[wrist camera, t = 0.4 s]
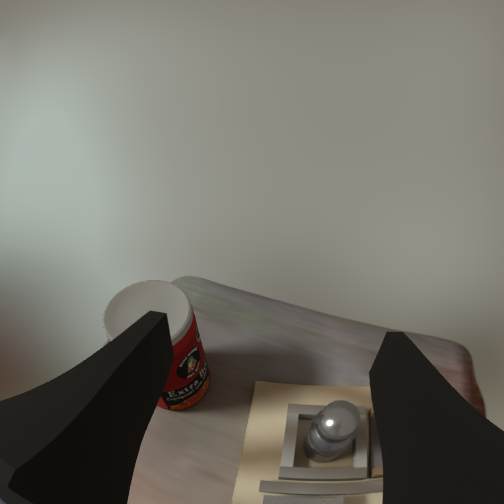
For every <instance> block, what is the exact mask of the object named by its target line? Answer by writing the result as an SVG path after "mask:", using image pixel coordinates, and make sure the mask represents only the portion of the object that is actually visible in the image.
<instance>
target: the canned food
mask: <svg viewBox="0 0 504 504" xmlns="http://www.w3.org/2000/svg"><path fill="white" fill-rule="evenodd" d="M150 310H151V311H157V312H163V313H167V317H168V323H169V329H170V335H171V341H172V346H173V351H174V359H173V363H172V366H171V370H170V373H169V377H168V380H167V383H166V385H165V387H164V390H163V392H162V394H161V397H160V399H159V401H158V403H157V406H159V407H161V408H164V409H168V410H182V409H186V408H189V407H191V406H193V405H195V404H196V403H197V402H199V401H200V400H201V399H202V397H203V396H204V395H205V393H206V391H207V388H208V385H209V381H210V374H209V369H208V365H207V362H206V358H205V354H204V350H203V347H202V343H201V339H200V335H199V331H198V327H197V323H196V319H195V315H194V312H193V308H192V305H191V302H190V300H189V298H188V295H187V294H186V293H185V292H184V290H182V289H181V288H180V287H178V286H177V285H175V284H173V283H170V282H166V281H160V280H149V281H142V282H138V283H135V284H132V285H130V286H128V287H126V288H124V289H123V290H121V291H120V292H118V293H117V294H116V295H115V296H114V297H113V298H112V299H111V300H110V302H109V303H108V305H107V306H106V308H105V311H104V314H103V327H104V330H105V333H106V335H107V338H108V340H109V341H112V340H113V339H114V338H116V337H117V336H118V335H119V334H121V333H122V332H123V331H125V330H126V329H127V328H128V327H130V326H131V325H132V324H133V323H135V322H136V321H137V320H138V319H140V318H141V317H142V316H143V315H145V314H146V313H147V312H149V311H150Z"/></svg>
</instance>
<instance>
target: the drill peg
mask: <svg viewBox="0 0 504 504" xmlns="http://www.w3.org/2000/svg"><path fill="white" fill-rule="evenodd" d="M359 422H360V413H359V410H358V409H357V407H356V406H355V405H354V404H352V403H351V402H348V401H344V400H337V401H333V402H331V403H329V404H328V405H327V406H326V407H325V408H324V409H323V410H321V411H320V412H319V413H318V414H317V415H316V416H315V417H314V419H313V421H312V424H311V426H310V429H309V431H308V433H307V436H306V438H305V441H304V452H305V454H306V455H307V457H308V458H309V459H311V460H312V461H314V462H317V463H328V462H331V461H333V460H335V459H336V458H338V457H339V456H340V455H341V453H342V452H343V451H344V450H345V449H346V448H347V447H348V446H349V444H350V443H351V442H352V441H353V440H354V438H355V437H356V435H357V432H358V425H359Z"/></svg>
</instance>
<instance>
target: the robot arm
mask: <svg viewBox="0 0 504 504" xmlns="http://www.w3.org/2000/svg"><path fill="white" fill-rule="evenodd" d="M173 359H174V351H173V346H172V341H171V335H170V329H169V323H168V317H167V313H163V312H157V311H151V310H150V311H149V312H147V313H146V314H145V315H143V316H142V317H141V318H140V319H138V320H137V321H136V322H135V323H133V324H132V325H131V326H130V327H128V328H127V329H126V330H125V331H123V332H122V333H121V334H119V335H118V336H117V337H116V338H114V339H113V340H112V341H110V342H109V343H108V344H107V345H105V346H104V347H103V348H101V349H100V350H98V351H97V352H96V353H94V354H93V355H91V356H90V357H89V358H87V359H86V360H84V361H83V362H81V363H80V364H78V365H77V366H75V367H74V368H72V369H70V370H69V371H67V372H65V373H63V374H62V375H60V376H58V377H57V378H55V379H53V380H51V381H49V382H47V383H45V384H42V385H40V386H38V387H36V388H34V389H32V390H30V391H27V392H25V393H22V394H20V395H17V396H14V397H11V398H8V399H5V400H2V401H0V504H127V501H128V495H129V490H130V485H131V480H132V476H133V472H134V468H135V463H136V460H137V456H138V453H139V449H140V445H141V442H142V439H143V437H144V434H145V431H146V429H147V426H148V424H149V422H150V420H151V417H152V415H153V413H154V410H155V408H156V406H157V403H158V401H159V399H160V397H161V394H162V392H163V390H164V387H165V385H166V383H167V380H168V377H169V373H170V370H171V366H172V363H173ZM369 377H370V390H371V400H372V405H373V410H374V415H375V420H376V425H377V430H378V436H379V441H380V447H381V453H382V462H383V501H382V504H504V431H502V430H501V429H500V428H498V427H497V426H496V425H494V424H493V423H491V422H490V421H489V420H488V419H487V418H485V417H484V416H483V415H482V414H481V413H479V412H478V411H477V410H476V409H475V408H474V407H473V406H471V405H470V404H469V403H468V402H467V401H466V400H465V399H464V398H463V397H462V396H461V395H460V394H459V393H458V392H457V391H456V390H455V389H454V388H453V387H452V386H451V385H450V384H449V383H448V381H447V380H446V379H445V378H444V377H443V376H442V375H441V374H440V373H439V372H438V370H437V369H436V368H435V367H434V366H433V365H432V364H431V363H430V361H429V360H428V359H427V358H426V357H425V356H424V355H423V353H422V352H421V351H420V350H419V349H418V348H417V347H416V346H415V344H414V343H413V342H412V341H411V340H410V339H409V338H408V337H407V336H406V335H405V334H404V333H403V332H386V335H385V337H384V340H383V342H382V345H381V347H380V349H379V352H378V354H377V356H376V359H375V361H374V363H373V365H372V368H371V370H370V372H369Z"/></svg>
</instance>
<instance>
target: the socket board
mask: <svg viewBox="0 0 504 504" xmlns="http://www.w3.org/2000/svg"><path fill="white" fill-rule="evenodd" d="M337 400H344V401H348V402H351V403H352V404H354V405H355V406H356V407H357V409H358V410H359V413H360V422H359V425H358V432H357V435H356V437H355V438H354V440H353V441H352V442H351V443H350V444H349V446H348V447H347V448H346V449H345V450H344V451H343V452H342V453H341V455H340V456H339V457H338V458H336V459H335V460H333V461H331V462H328V463H317V462H314V461H312V460H311V459H309V458H308V457H307V455H306V454H305V452H304V441H305V438H306V436H307V433H308V431H309V429H310V426H311V424H312V421H313V419H314V417H315V416H316V415H317V414H318V413H319V412H320V411H321V410H323V409H324V408H325V407H326V406H327V405H328V404H329V403H331V402H333V401H337ZM264 495H271V496H283V497H301V498H342V497H344V500H343V504H382V501H383V462H382V453H381V447H380V441H379V436H378V430H377V425H376V420H375V415H374V410H373V405H372V400H371V390H370V386H369V387H350V386H316V385H299V384H285V383H274V382H264V381H256V383H255V389H254V394H253V399H252V405H251V410H250V415H249V420H248V425H247V431H246V436H245V441H244V446H243V451H242V456H241V460H240V465H239V470H238V475H237V480H236V484H235V489H234V494H233V498H232V503H231V504H262V503H263V498H264Z"/></svg>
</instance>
